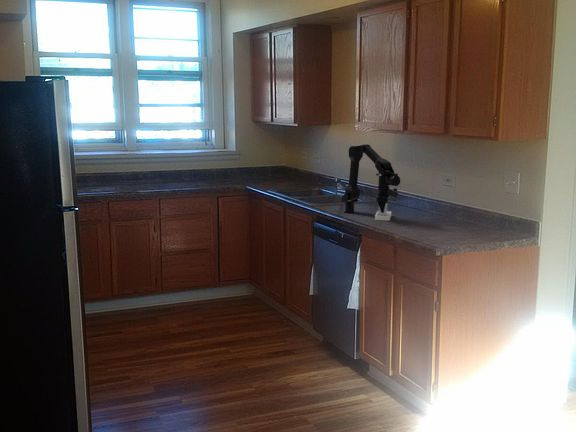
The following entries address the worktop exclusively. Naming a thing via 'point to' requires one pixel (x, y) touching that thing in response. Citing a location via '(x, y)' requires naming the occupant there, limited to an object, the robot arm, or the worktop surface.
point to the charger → (384, 211)
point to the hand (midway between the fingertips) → (382, 212)
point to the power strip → (383, 216)
